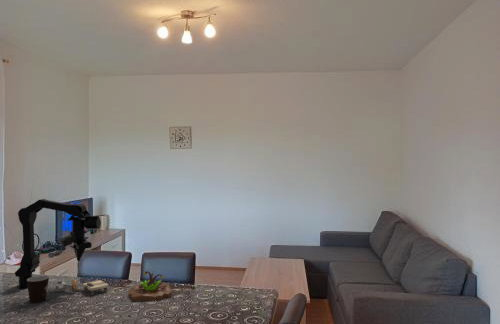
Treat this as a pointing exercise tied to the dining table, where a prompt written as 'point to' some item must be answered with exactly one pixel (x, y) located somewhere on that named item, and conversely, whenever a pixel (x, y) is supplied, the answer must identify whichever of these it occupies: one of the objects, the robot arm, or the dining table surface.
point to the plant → (150, 290)
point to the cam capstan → (64, 286)
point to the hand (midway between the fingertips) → (78, 260)
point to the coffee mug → (37, 288)
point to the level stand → (94, 286)
